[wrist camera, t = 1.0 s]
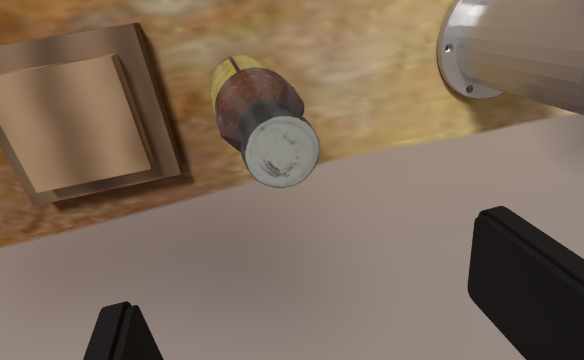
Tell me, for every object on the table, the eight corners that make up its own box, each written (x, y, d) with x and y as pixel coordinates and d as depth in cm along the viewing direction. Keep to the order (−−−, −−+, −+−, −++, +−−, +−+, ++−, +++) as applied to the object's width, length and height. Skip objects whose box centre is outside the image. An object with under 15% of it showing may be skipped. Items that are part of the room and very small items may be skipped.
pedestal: (138, 22, 32) (127, 24, 28) (182, 164, 38) (179, 183, 34) (-32, 50, 30) (-69, 56, 26) (44, 194, 37) (23, 216, 33)
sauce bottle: (225, 124, 37) (237, 230, 20) (199, 65, 34) (187, 127, 17) (284, 102, 38) (348, 186, 20) (263, 41, 35) (318, 78, 17)
